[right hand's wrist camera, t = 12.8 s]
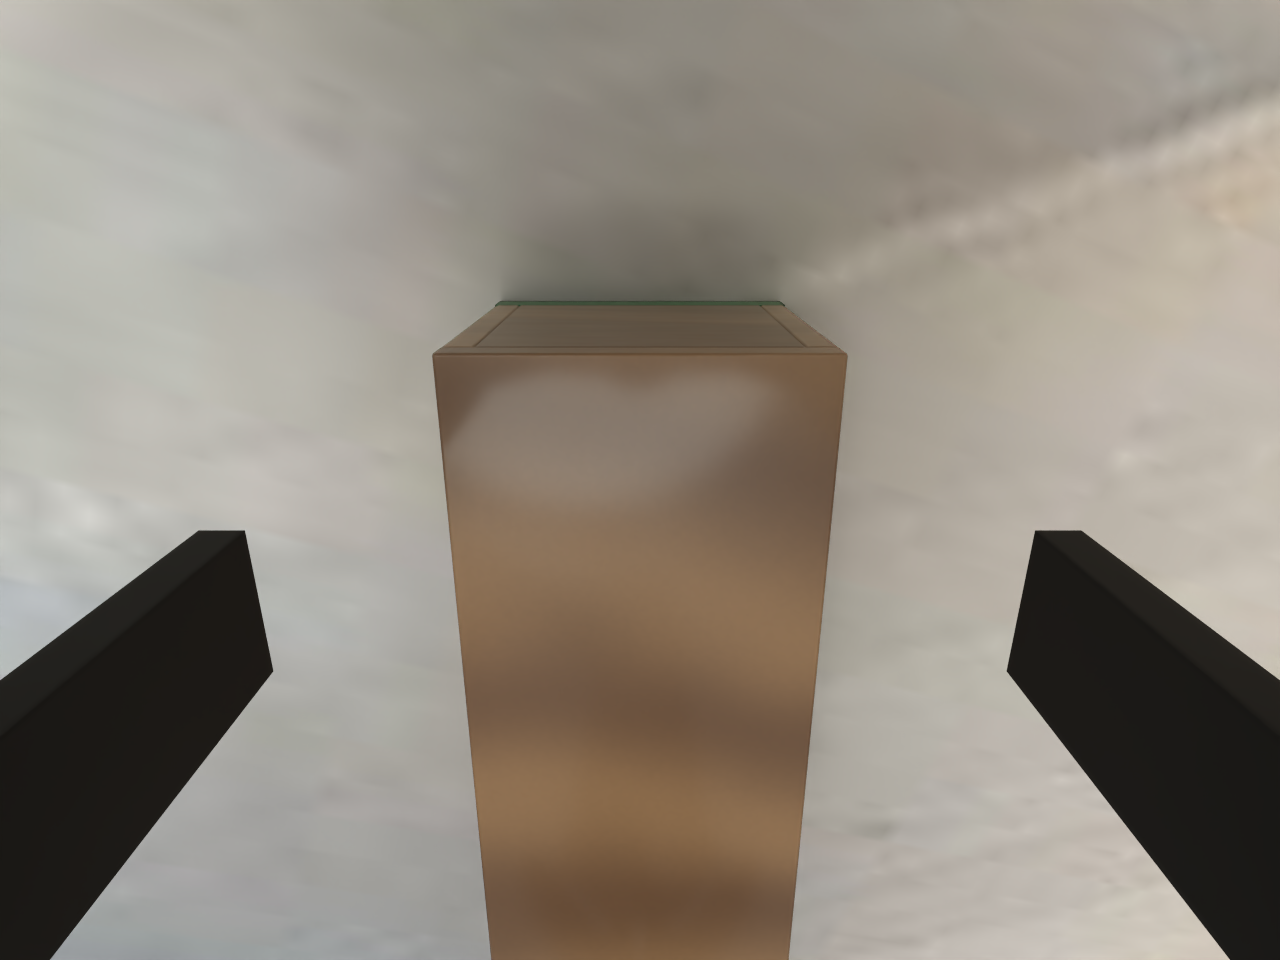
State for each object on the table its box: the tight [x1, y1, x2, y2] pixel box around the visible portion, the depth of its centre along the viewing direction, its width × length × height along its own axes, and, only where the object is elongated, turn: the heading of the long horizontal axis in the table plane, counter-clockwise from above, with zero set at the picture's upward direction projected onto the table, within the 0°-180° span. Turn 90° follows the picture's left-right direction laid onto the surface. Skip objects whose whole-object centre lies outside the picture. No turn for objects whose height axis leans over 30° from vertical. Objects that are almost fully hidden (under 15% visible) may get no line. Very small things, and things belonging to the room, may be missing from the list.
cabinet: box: [432, 301, 848, 960], centre depth 26 cm, size 21×10×9 cm, turn 0°
